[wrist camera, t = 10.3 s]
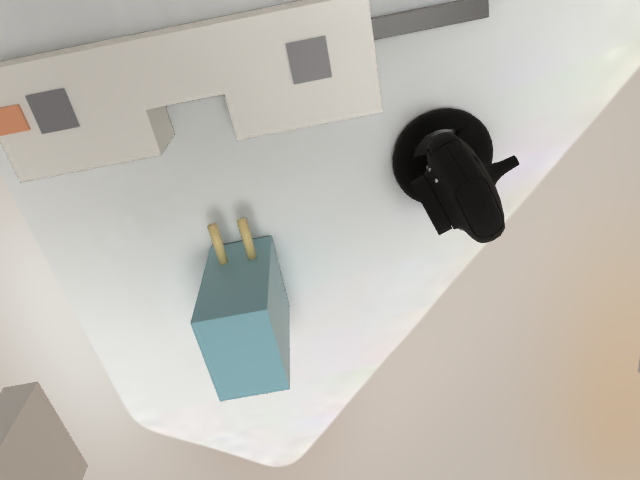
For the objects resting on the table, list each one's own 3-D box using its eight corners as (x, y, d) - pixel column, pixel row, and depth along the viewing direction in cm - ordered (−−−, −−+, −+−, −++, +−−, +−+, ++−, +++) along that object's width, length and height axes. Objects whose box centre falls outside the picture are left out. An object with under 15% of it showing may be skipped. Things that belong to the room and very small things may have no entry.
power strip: (0, 61, 35) (-40, 75, 31) (481, -37, 34) (508, -36, 29) (45, 159, 38) (15, 184, 34) (484, 74, 37) (509, 89, 33)
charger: (199, 211, 41) (175, 282, 32) (262, 199, 40) (255, 267, 32) (233, 316, 46) (220, 402, 37) (289, 306, 45) (290, 390, 37)
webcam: (373, 138, 39) (398, 191, 30) (465, 85, 37) (520, 125, 28) (417, 218, 42) (451, 287, 33) (504, 173, 41) (563, 232, 32)
